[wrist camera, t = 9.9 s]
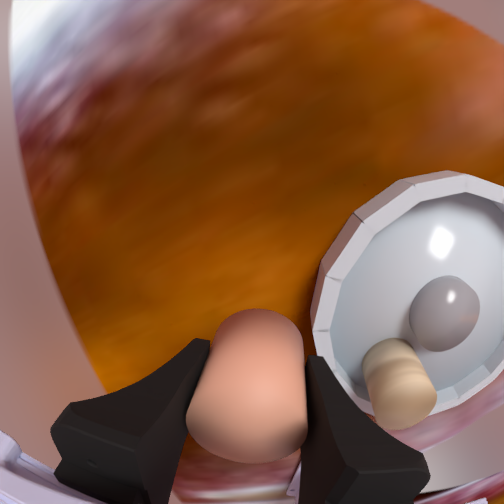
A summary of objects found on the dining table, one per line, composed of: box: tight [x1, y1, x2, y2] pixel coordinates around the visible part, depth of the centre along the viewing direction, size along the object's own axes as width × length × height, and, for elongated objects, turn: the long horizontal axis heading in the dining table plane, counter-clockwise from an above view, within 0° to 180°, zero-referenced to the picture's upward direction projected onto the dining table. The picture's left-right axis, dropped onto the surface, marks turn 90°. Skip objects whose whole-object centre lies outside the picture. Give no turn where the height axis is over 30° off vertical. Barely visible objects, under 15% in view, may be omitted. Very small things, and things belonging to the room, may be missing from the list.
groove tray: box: [310, 170, 504, 416], centre depth 19 cm, size 18×18×2 cm
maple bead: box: [362, 338, 437, 430], centre depth 18 cm, size 4×4×5 cm
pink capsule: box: [186, 309, 308, 463], centre depth 12 cm, size 4×4×5 cm
